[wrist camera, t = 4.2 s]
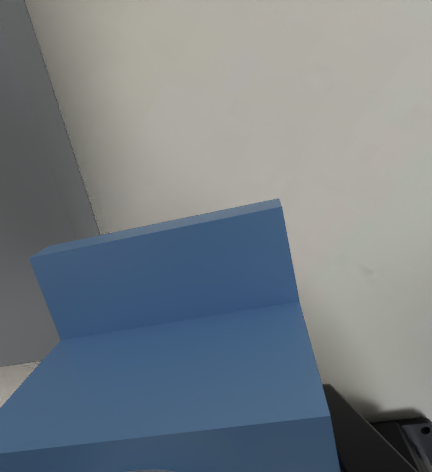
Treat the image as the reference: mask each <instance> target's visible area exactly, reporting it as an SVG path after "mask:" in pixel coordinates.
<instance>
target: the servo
mask: <svg viewBox="0 0 432 472" xmlns="http://www.w3.org/2000/svg"><path fill="white" fill-rule="evenodd" d="M29 260H30V263H31V265H32V268H33V270H34V273H35V276H36V278H37V281H38V283H39V286H40V288H41V291H42V294H43V296H44V299H45V301H46V304H47V306H48V309H49V312H50V314H51V317H52V319H53V322H54V324H55V327H56V330H57V332H58V335H59V337H60V341H59V343H58V344H57V345H56V346H55V347H54V348H53V349H52V350H51V352H50V353H49V354H48V355H47V356H46V357H45V358H44V359H43V361H42V362H41V363H40V364H39V365H38V366H37V367H36V368H35V370H34V371H33V372H32V373H31V374H30V375H29V376H28V377H27V379H26V380H25V381H24V382H23V383H22V384H21V385H20V386H19V388H18V389H17V390H16V391H15V392H14V393H13V394H12V396H11V397H10V398H9V399H8V400H7V401H6V402H5V403H4V405H3V406H2V407H1V408H0V472H340V467H339V461H338V456H337V450H336V444H335V439H334V433H333V427H332V422H331V416H330V412H329V409H328V405H327V401H326V397H325V394H324V390H323V386H322V383H321V379H320V375H319V372H318V368H317V364H316V361H315V357H314V353H313V350H312V346H311V342H310V339H309V335H308V331H307V328H306V324H305V320H304V317H303V313H302V309H301V305H300V302H299V297H298V291H297V286H296V280H295V275H294V270H293V264H292V259H291V253H290V248H289V243H288V237H287V232H286V226H285V221H284V216H283V210H282V206H281V203H280V200H279V199H274V200H269V201H264V202H259V203H254V204H250V205H245V206H240V207H235V208H230V209H225V210H220V211H216V212H211V213H206V214H201V215H196V216H191V217H187V218H182V219H177V220H172V221H167V222H162V223H157V224H153V225H148V226H143V227H138V228H133V229H128V230H124V231H119V232H114V233H109V234H104V235H99V236H94V237H90V238H85V239H80V240H75V241H70V242H65V243H61V244H56V245H51V246H48V247H46V248H44V249H43V250H41V251H39V252H38V253H36V254H34V255H33V256H31V257H29Z"/></svg>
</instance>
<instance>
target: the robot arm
mask: <svg viewBox="0 0 432 472" xmlns="http://www.w3.org/2000/svg"><path fill="white" fill-rule="evenodd" d="M322 386H323V390H324V394H325V397H326V401H327V405H328V409H329V412H330V416H331V422H332V427H333V433H334V439H335V444H336V450H337V456H338V461H339V467H340V472H432V422H431V421H430V420H429V419H427V418H413V419H404V420H394V421H385V422H376V423H368V422H367V420H366V419H365V418H364V417H363V416H362V415H361V414H360V413H359V412H358V411H357V410H356V409H355V408H354V407H353V406H352V405H351V404H350V403H349V402H348V401H347V400H346V399H345V398H344V397H343V396H342V395H341V394H340V393H339V392H338V391H337V390H336V389H335V388H334V387H333V386H331V385H330V384H322ZM423 427H426V428H423ZM422 428H423V429H422Z"/></svg>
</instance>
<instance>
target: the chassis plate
mask: <svg viewBox="0 0 432 472" xmlns="http://www.w3.org/2000/svg"><path fill="white" fill-rule="evenodd" d="M99 235H100V233H99V230H98V227H97V224H96V221H95V218H94V215H93V212H92V208H91V205H90V202H89V199H88V196H87V193H86V190H85V187H84V184H83V181H82V178H81V174H80V171H79V168H78V165H77V162H76V159H75V156H74V153H73V150H72V147H71V144H70V141H69V137H68V134H67V131H66V128H65V125H64V122H63V119H62V116H61V113H60V110H59V107H58V104H57V100H56V97H55V94H54V91H53V88H52V85H51V82H50V79H49V76H48V73H47V70H46V66H45V63H44V60H43V57H42V54H41V51H40V48H39V45H38V42H37V39H36V36H35V33H34V29H33V26H32V23H31V20H30V17H29V14H28V11H27V8H26V5H25V2H24V0H0V367H2V366H9V365H16V364H22V363H29V362H35V361H42V360H43V359H44V358H45V357H46V356H47V355H48V354H49V353H50V352H51V350H52V349H53V348H54V347H55V346H56V345H57V344H58V343H59V341H60V337H59V335H58V332H57V330H56V327H55V324H54V322H53V319H52V317H51V314H50V312H49V309H48V306H47V304H46V301H45V299H44V296H43V294H42V291H41V288H40V286H39V283H38V281H37V278H36V276H35V273H34V270H33V268H32V265H31V263H30V260H29V257H31V256H33V255H34V254H36V253H38V252H39V251H41V250H43V249H44V248H46V247H48V246H51V245H56V244H61V243H65V242H70V241H75V240H80V239H85V238H90V237H94V236H99Z"/></svg>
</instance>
